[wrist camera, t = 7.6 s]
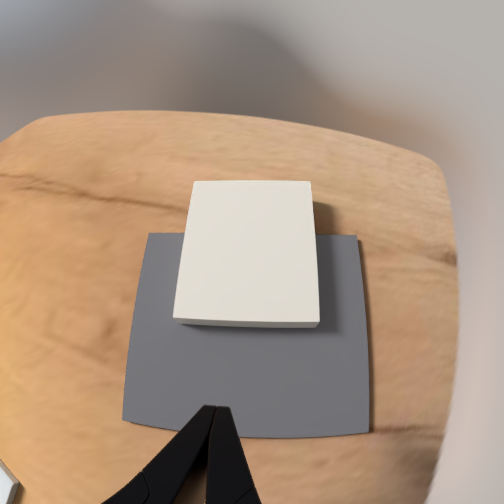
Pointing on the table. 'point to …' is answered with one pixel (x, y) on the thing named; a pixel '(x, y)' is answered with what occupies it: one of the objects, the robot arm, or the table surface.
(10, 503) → the external hard drive
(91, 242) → the table surface
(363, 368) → the mat
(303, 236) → the tile
